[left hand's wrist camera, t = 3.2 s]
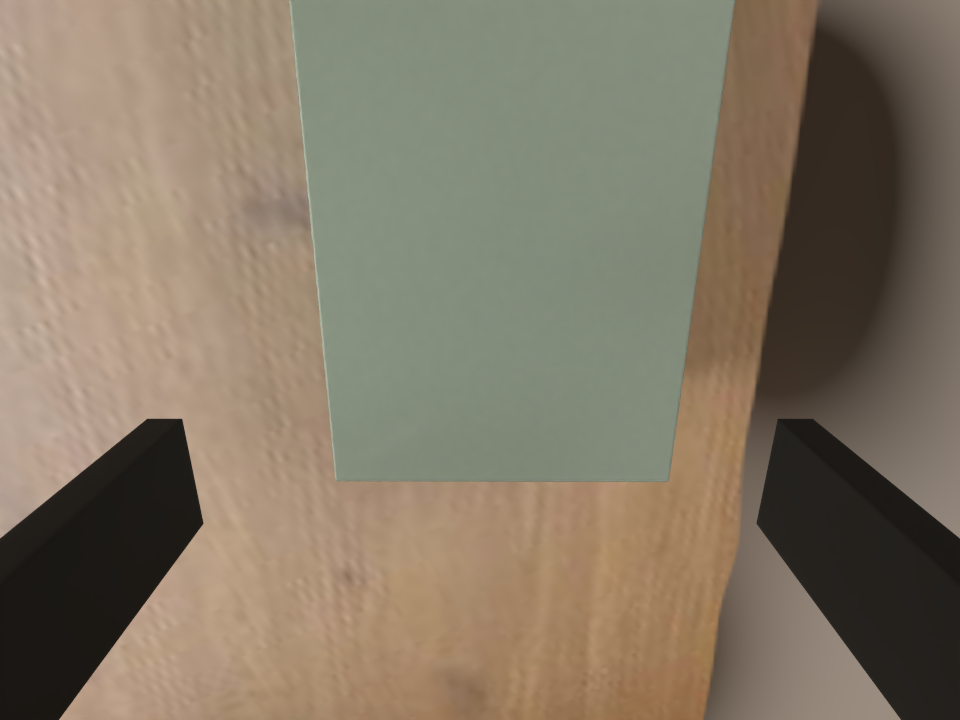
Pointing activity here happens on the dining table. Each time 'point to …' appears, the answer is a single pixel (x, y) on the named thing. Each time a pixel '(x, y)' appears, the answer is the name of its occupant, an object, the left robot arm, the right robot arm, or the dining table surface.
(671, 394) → the cabinet
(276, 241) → the dining table surface
